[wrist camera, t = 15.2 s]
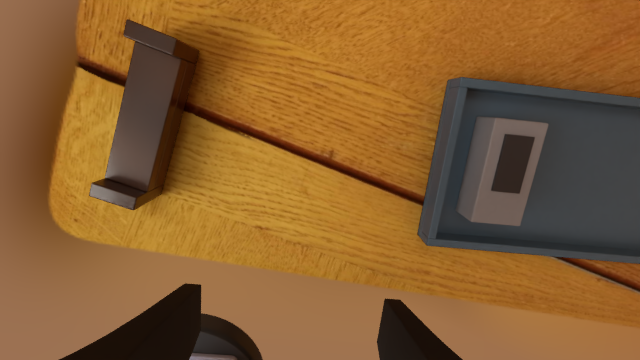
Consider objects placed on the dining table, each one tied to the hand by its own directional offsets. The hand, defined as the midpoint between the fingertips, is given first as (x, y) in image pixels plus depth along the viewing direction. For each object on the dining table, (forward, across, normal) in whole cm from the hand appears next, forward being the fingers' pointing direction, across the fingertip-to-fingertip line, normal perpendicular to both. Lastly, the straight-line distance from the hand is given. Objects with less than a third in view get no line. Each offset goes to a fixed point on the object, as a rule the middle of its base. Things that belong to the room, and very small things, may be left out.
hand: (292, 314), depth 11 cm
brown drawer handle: (+8, +9, -6) cm, 14 cm away
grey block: (+8, -11, -5) cm, 15 cm away
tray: (+8, -21, -5) cm, 23 cm away
